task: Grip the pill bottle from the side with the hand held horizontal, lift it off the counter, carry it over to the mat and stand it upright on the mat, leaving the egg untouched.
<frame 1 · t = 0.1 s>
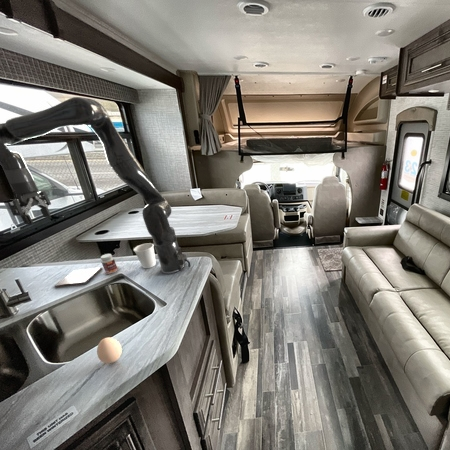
hand: (39, 220, 97), 29 cm above the counter, tool pointing down, fingers open, 8 cm apart
dixie cup: (149, 265, 119), on the counter
egg: (114, 360, 70), on the counter
mat: (79, 277, 110), on the counter
pill bottle: (112, 271, 115), on the counter
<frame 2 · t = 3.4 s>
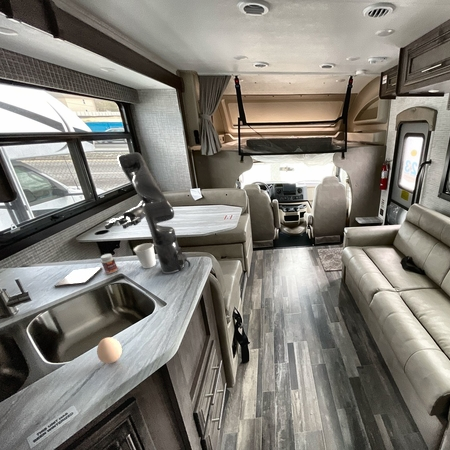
hand: (114, 227, 118), 18 cm above the counter, tool horizontal, fingers open, 8 cm apart
nothing on the counter moved.
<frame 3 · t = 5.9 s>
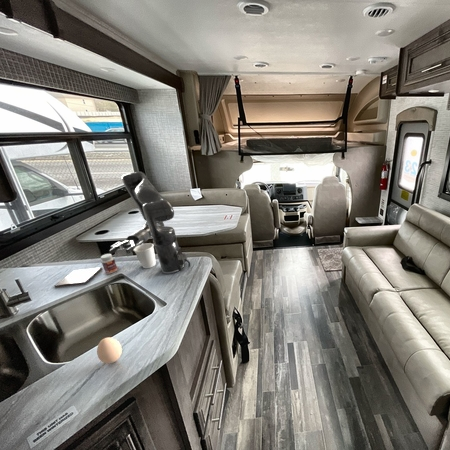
hand: (118, 252, 119), 6 cm above the counter, tool horizontal, fingers open, 8 cm apart
nothing on the counter moved.
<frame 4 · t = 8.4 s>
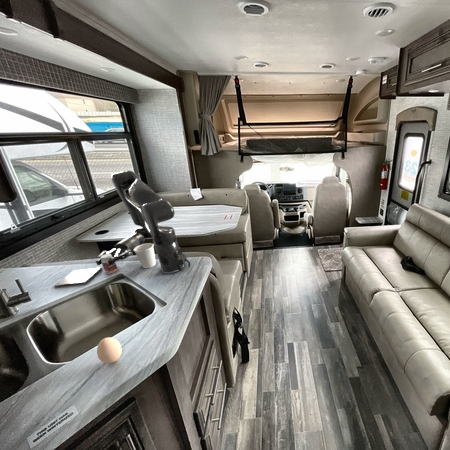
hand: (103, 263, 110), 6 cm above the counter, tool horizontal, fingers closed on pill bottle, 4 cm apart
pill bottle: (112, 271, 115), on the counter, touching gripper
everything else where it was.
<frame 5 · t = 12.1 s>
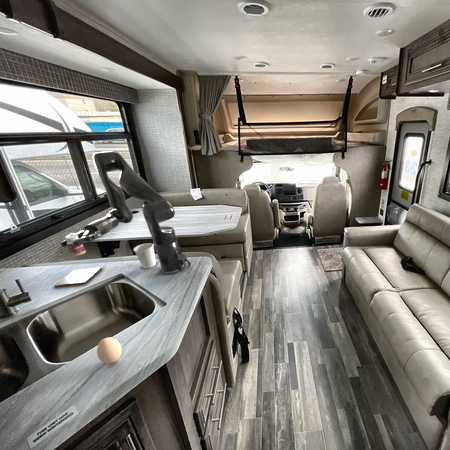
hand: (68, 244, 102), 18 cm above the counter, tool horizontal, fingers closed on pill bottle, 4 cm apart
pill bottle: (79, 253, 107), point 11 cm above the counter, touching gripper
everything else where it was.
when the fingers open (7 cm above the counter, at t = 15.9 s): pill bottle stays where it is, resting on mat.
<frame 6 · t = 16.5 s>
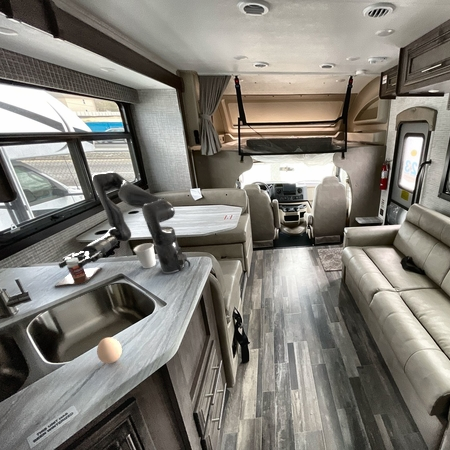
hand: (69, 265, 106), 8 cm above the counter, tool horizontal, fingers open, 8 cm apart
pill bottle: (79, 276, 110), point 1 cm above the counter, touching mat
everything else where it was.
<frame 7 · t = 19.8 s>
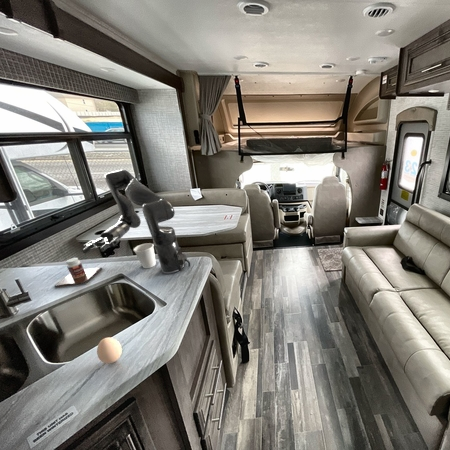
hand: (92, 250, 117), 8 cm above the counter, tool horizontal, fingers open, 8 cm apart
nothing on the counter moved.
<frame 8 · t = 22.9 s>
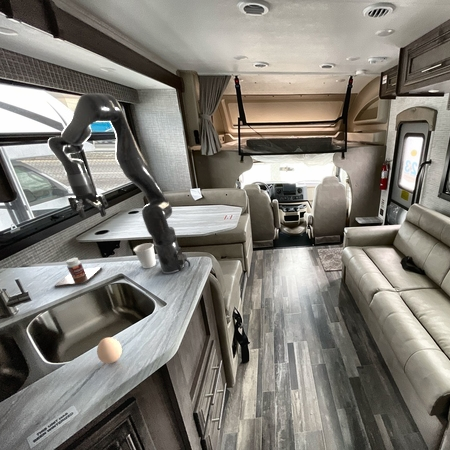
hand: (94, 217, 115), 24 cm above the counter, tool pointing down, fingers open, 8 cm apart
nothing on the counter moved.
at the end: pill bottle inside the target area on the mat (0.2 cm from its centre), point 0.8 cm above the mat's base; pill bottle tilted 0°; egg moved 0.2 cm from its start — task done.
